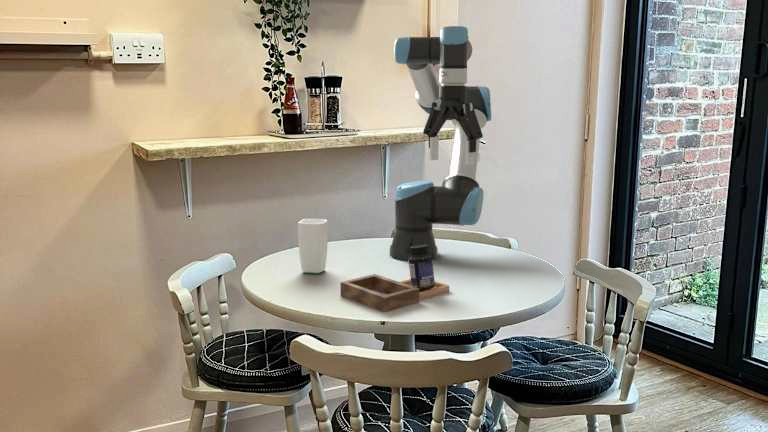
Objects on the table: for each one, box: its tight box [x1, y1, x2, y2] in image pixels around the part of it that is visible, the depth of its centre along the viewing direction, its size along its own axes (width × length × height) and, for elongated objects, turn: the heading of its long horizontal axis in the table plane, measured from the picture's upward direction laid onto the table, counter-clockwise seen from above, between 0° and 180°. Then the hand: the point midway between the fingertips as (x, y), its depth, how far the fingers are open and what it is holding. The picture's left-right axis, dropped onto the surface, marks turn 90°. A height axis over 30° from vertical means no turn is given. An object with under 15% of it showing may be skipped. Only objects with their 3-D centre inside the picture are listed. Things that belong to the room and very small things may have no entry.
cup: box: [297, 218, 329, 275], centre depth 193 cm, size 7×7×15 cm
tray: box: [400, 278, 450, 301], centre depth 177 cm, size 11×11×2 cm
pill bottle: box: [408, 245, 436, 290], centre depth 175 cm, size 6×6×11 cm
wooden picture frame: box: [339, 273, 420, 313], centre depth 170 cm, size 17×12×4 cm
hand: (451, 162), depth 189 cm, fingers open, 13 cm apart
